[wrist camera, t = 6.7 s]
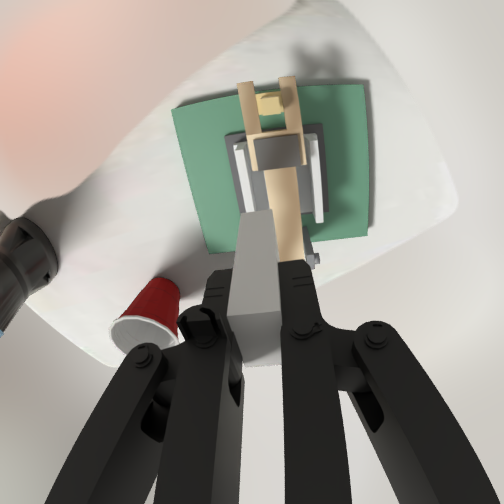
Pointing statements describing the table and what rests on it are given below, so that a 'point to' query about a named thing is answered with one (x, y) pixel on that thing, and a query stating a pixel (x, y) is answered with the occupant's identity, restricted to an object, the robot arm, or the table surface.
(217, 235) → the board
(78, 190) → the table surface
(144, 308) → the plastic cup
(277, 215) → the strap
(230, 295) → the robot arm
